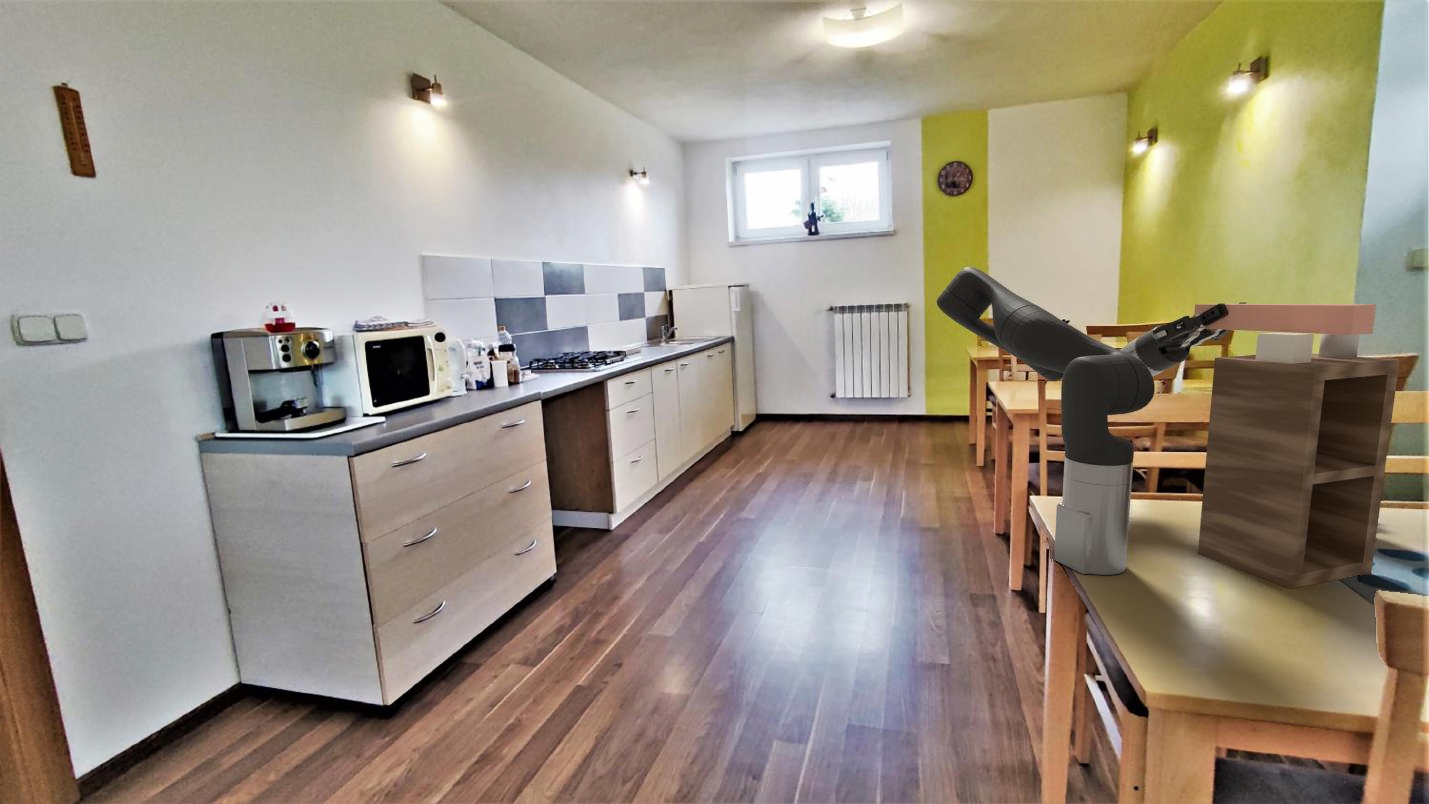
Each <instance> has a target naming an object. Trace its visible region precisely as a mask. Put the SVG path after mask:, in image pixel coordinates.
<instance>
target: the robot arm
mask: <svg viewBox="0 0 1429 804" xmlns="http://www.w3.org/2000/svg"><path fill="white" fill-rule="evenodd" d="M1216 304H1217V305H1215V306H1214V307H1212V308H1210V309H1208V310H1207V311H1205V312H1203V313H1199V314H1195V315H1194V314H1193V315H1192V316H1190V315H1184V316H1182V317H1179V318H1178V319H1176V320H1173V321H1171V322H1169V323H1167V324H1161V325H1156V326H1155V327H1154V328H1151V330H1148V331H1147V332H1145V333H1144V334H1141V335H1140V336H1137V337H1136V338H1135V339H1133V340H1131V341H1129V342H1128V343H1127V344H1126V345H1124V346H1123V347H1122V348H1120V349H1118V348H1115V347H1112V346H1111V345H1108V344H1106V343H1104V342H1101V341H1099V340H1096V339H1094V338H1092V337H1090V336H1089V335H1087V334H1085V333H1084V332H1082V331H1081V330H1079V329H1078V328H1076V327H1074V326H1072V325H1071V324H1069V323H1067V322H1065V321H1063V320H1062V319H1060V318H1059V317H1057V315H1056V316H1055V315H1054V314H1053V313H1051V312H1049V311H1047V310H1046V309H1044V308H1042V307H1041V306H1039V305H1037V304H1035V303H1034V302H1032V301H1029V300H1027V299H1025V298H1024V297H1021V296H1020V295H1017V294H1016V293H1015V292H1013V291H1012V290H1010V289H1009V288H1007V287H1006V286H1004V285H1003V284H1002V283H1000V281H997V280H996V279H995V278H993V277H992V276H990V275H989V274H987V273H985V271H982V270H981V269H979V268H976V267H972V266H966V267H963V268H962V269H961V270H960V271H958V273H956V275H955V276H954V278H952V280H951V281H950V282H949V283H948V285H947V286H946V287H945V289H943V291H942V292H941V293H940V295H939V296H938V297H937V299H936V305H937V307H938V308H939V309H940V311H941V312H942V313H943V314H944V315H946V316H947V317H948V318H949V319H951V320H953V321H954V322H955V323H957V324H959V326H962V327H963V328H964V329H967V330H968V331H970V332H972V333H973V334H974V335H976V336H978V337H980V338H981V339H983V340H985V341H987V342H988V343H991V344H992V345H994V346H996V347H997V348H999V349H1001V350H1002V351H1005V352H1006V353H1008V354H1009V355H1011V356H1014V358H1016V359H1018V360H1019V361H1021V362H1022V363H1023V364H1025V365H1026V366H1028V367H1029V368H1031V369H1032V370H1033V371H1035V372H1036V373H1038V374H1039V375H1040V376H1041V377H1043V378H1044V379H1046V380H1048V381H1049V382H1057V381H1060V380H1061V387H1060V402H1061V403H1060V410H1061V411H1060V412H1061V417H1060V418H1061V425H1060V427H1061V428H1060V430H1061V437H1062V438H1061V439H1062V441H1063V444H1064V467H1063V483H1062V484H1063V485H1062V502H1059V503H1057V505H1056V513H1055V514H1056V515H1055V536H1054V552H1053V553H1054V554H1053V558H1054V559H1053V560H1054V561H1055V562H1058V563H1060V564H1062V565H1063V566H1066V567H1068V568H1070V569H1072V570H1074V571H1075V572H1077V573H1079V574H1081V575H1086V574H1091V575H1092V574H1093V575H1102V576H1103V575H1105V576H1109V575H1111V576H1112V575H1118V574H1121V573H1124V572H1125V571H1126V569H1127V555H1128V543H1129V542H1128V541H1129V526H1130V513H1131V512H1130V510H1131V498H1132V497H1131V496H1132V481H1133V468H1134V458H1135V457H1134V456H1135V447H1134V443H1132V442H1131V441H1130V440H1128V439H1126V438H1123V437H1121V436H1116V435H1114V434H1112V433H1111V432H1110V430H1109V429H1110V428H1109V418H1108V417H1109V416H1117V415H1126V414H1127V415H1128V414H1131V413H1135V412H1139V411H1140V410H1143V409H1144V408H1145V407H1147V406H1148V405H1149V404H1150V403H1151V402H1152V400H1153V398H1154V395H1155V391H1156V389H1155V387H1156V385H1155V380H1154V376H1157V375H1159V374H1160V373H1162V372H1165V371H1167V370H1168V369H1171V368H1172V367H1175V366H1176V365H1179V364H1180V363H1181V364H1182V363H1183V362H1185V360H1187V359H1188V357H1189V355H1190V350H1191V348H1194V347H1197V346H1199V345H1201V344H1202V345H1203V343H1204V342H1205V341H1207V340H1209V339H1211V340H1212V341H1214V342H1215V341H1219V340H1220V339H1222V338H1223V337H1224V336H1225V335H1227V334H1228V333H1230V332H1231V331H1232V330H1222V329H1204V328H1206V327H1207V326H1206V325H1211V324H1212V323H1214V322H1216V321H1218V320H1220V319H1222V318H1224V317H1225V316H1227V315H1228V310H1227V308H1226V306H1225V304H1226V303H1225V302H1224V303H1222V302H1221V303H1220V302H1219V303H1216ZM1238 304H1248V303H1247V302H1244V301H1243V302H1239V303H1238ZM990 306H991V311H992V313H991V314H992V323H993V324H990V323H987V322H985V321H983V320H982V319H981V317H982V315H983V314H985V312H986V311H987V310H988V309H989V308H990ZM1195 327H1196V328H1195Z"/></svg>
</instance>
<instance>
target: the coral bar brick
mask: <svg viewBox="0 0 1429 804" xmlns="http://www.w3.org/2000/svg"><path fill="white" fill-rule="evenodd" d="M1217 304H1218V303H1198V304H1194V312H1193V316H1194V315H1195V314H1199V313H1203V312H1205V311H1207V310H1208V309H1210V308H1212V307H1214V306H1215V305H1217ZM1224 304H1225V306H1226V308H1227V310H1228V315H1227V316H1225V317H1224V318H1222V319H1220V320H1218V321H1216V322H1214V323H1212V324H1211V325H1206V326H1207V327H1206V328H1204V329H1207V330H1208V329H1222V330H1231V331H1251V332H1268V333H1273V332H1282V333H1304V334H1314V335H1315V334H1320V335H1321V334H1339V335H1359V334H1360V335H1372V334H1373V333H1374V325H1375V318H1376V317H1375V316H1376V310H1377V303H1376V304H1374V303H1373V304H1368V303H1367V304H1366V303H1363V304H1361V303H1360V304H1359V303H1357V304H1356V303H1350V304H1349V303H1247V304H1239V303H1224ZM1195 328H1196V327H1195Z"/></svg>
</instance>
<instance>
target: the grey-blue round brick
mask: <svg viewBox="0 0 1429 804" xmlns="http://www.w3.org/2000/svg"><path fill="white" fill-rule="evenodd" d="M1360 335H1361V334H1359V335H1339V334H1320V339H1319V341H1320V342H1319V348H1318V349H1319V350H1318V354H1319V356H1318V357H1322V358H1340V359H1350V358H1357V357H1358V351H1359V342H1360Z"/></svg>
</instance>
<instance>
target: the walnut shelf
mask: <svg viewBox="0 0 1429 804" xmlns="http://www.w3.org/2000/svg"><path fill="white" fill-rule="evenodd" d="M1318 356H1319V353H1313V352H1312V357H1311V362H1307V363H1294V364H1290V363H1278V362H1267V361H1255V358H1256V354H1248V355H1247V354H1246V355H1236V356H1235V355H1233V356H1221V357H1218V356H1217V357H1214V362H1213V363H1214V364H1213V376H1212V377H1213V378H1212V388H1211V399H1210V407H1209V408H1210V411H1209V421H1208V430H1207V432H1208V434H1207V443H1206V456H1205V467H1204V477H1203V480H1204V481H1203V488H1202V489H1203V490H1202V498H1201V499H1202V502H1201V512H1200V513H1201V514H1200V525H1199V536H1198V537H1199V538H1198V546H1197V554H1200V555H1202V556H1205V557H1207V558H1209V559H1212V560H1215V561H1217V562H1220V563H1223V564H1225V565H1227V566H1230V567H1233V568H1236V569H1237V570H1238V569H1239V570H1241V571H1244V572H1246V573H1249V574H1252V575H1254V576H1256V577H1259V578H1262V579H1265V580H1267V581H1269V582H1272V583H1275V584H1276V585H1280V586H1282V587H1286V588H1288V589H1289V590H1290V589H1296V588H1300V587H1301V588H1302V587H1306V586H1312V585H1317V584H1322V583H1326V582H1327V583H1328V582H1331V581H1332V582H1334V581H1338V580H1343V578H1344V579H1348V578H1347V577H1349V578H1352V577H1351V576H1355V577H1358V576H1357V575H1360V576H1365V575H1369V574H1372V571H1373V562H1374V555H1375V550H1376V549H1375V547H1376V541H1377V534H1378V525H1379V520H1380V519H1379V518H1380V510H1381V502H1382V496H1383V495H1382V494H1383V490H1384V489H1383V486H1384V480H1385V472H1386V463H1387V457H1388V450H1389V443H1390V442H1389V441H1390V437H1391V436H1390V435H1391V434H1390V433H1391V427H1392V419H1393V411H1394V405H1395V397H1396V388H1397V383H1398V382H1397V381H1398V374H1399V367H1400V359H1397V358H1382V357H1381V358H1380V357H1368V356H1367V357H1366V356H1357V358H1350V359H1340V358H1322V357H1318Z"/></svg>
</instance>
